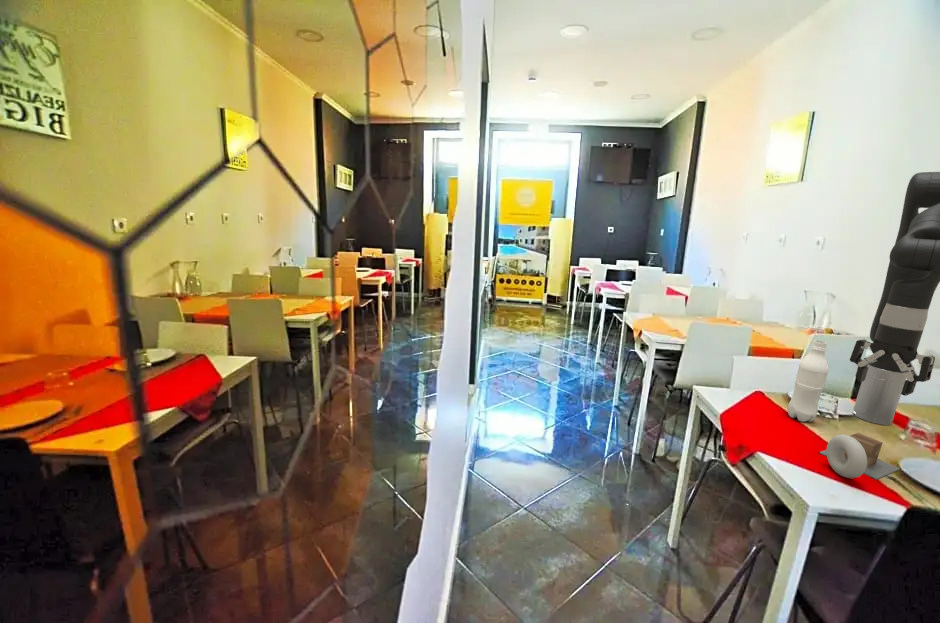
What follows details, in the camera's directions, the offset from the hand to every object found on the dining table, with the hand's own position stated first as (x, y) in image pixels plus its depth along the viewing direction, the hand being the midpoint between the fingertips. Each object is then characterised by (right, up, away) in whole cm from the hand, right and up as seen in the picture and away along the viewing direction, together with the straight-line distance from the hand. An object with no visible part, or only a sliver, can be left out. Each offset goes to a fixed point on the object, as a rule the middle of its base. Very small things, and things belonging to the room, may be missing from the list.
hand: (881, 387), depth 104 cm
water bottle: (+1, -15, +27) cm, 31 cm away
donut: (-12, -21, -1) cm, 24 cm away
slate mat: (-1, -20, +5) cm, 20 cm away
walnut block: (-1, -20, +5) cm, 20 cm away
